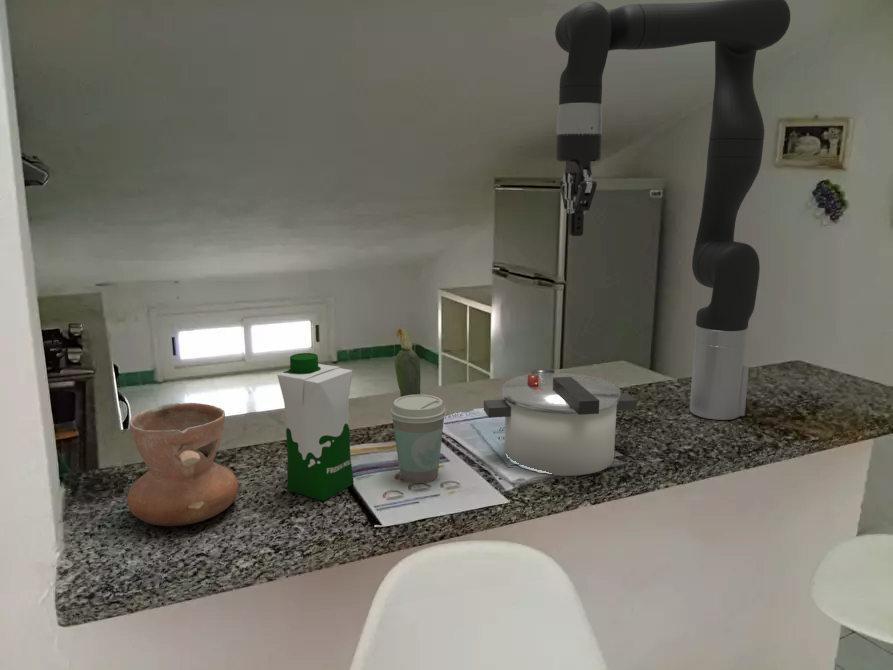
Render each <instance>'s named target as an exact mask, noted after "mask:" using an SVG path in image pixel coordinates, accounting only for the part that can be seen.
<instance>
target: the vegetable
mask: <svg viewBox="0 0 893 670" xmlns="http://www.w3.org/2000/svg"><path fill="white" fill-rule="evenodd" d="M395 336H396V338H398V337H399V343H400V346H401V347H400V348H401V350H399V351H398V353H397V354H396V355H395V358H394V359H395V360H394V369H395V375H396V381H397V385H398V388H399V394H400V397H403V396H407V395H421V366H420V365H421V363H420V357H419V356H418V354H417V353H416V352H415V350H414V349H413V344H412V341H411V338H410V337H409V333H407V331H406V330H404V328H398V329H397V330H396V332H395ZM400 397H399V398H400Z"/></svg>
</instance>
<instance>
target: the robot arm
mask: <svg viewBox="0 0 893 670" xmlns="http://www.w3.org/2000/svg"><path fill="white" fill-rule="evenodd" d="M790 24H791V10H790V6H789V4H788V2H787V1H786V0H715V1H707V2H685V3H684V2H683V3H682V2H681V3H680V2H679V3H677V2H675V3H673V2H672V3H671V2H670V3H667V2H666V3H631V4H626V5H622V6H619V7H616V8H611V9H606V8H605V6H604V5H602V4H600V3H599V2H596V1H585V2H583V3H581V4H578V5H577V6H576V7H574V8H572V9H570V10H568V11H567V12H566V13H564V14H563V15H562V16H561V17H560V18H559V19H558V21H557V24H556V26H555V30H554V33H555V34H554V35H555V40H556V42H557V44H558V46H559V48H561V49H562V50H563V51H565V53H566V52H567V53H568V57H567V64H566V67H565V68H564V69H563V71H562V72H561V74H560V79H559V91H558V93H559V95H558V96H559V97H558V99H559V100H558V104H559V105H558V112H557V119H556V144H555V145H556V150H555V151H556V152H555V159H556V161H557V162H559V163H560V162H563V163H564V162H565V170H564V172H563V176H562V177H563V180H562V179H561V180H560V181H559V188H560V192H561V197H562V203H563V208H564V210H566V212H567V214H568V229H567V230H568V232H567V233H568V235H569V236H572V237H581V236H583V235H584V220H585V219H584V217H585V214H586V211H587V212H589V211H590V208H591V205H592V202H593V199H594V196H595V193H596V189H597V186H598V185H597V181H596V180H593V173H592V164H591V162H599V161H601V159H602V158H601V157H602V156H601V155H602V154H601V153H602V137H603V136H602V134H603V133H602V132H603V131H602V130H603V111H602V101H603V100H602V99H603V95H602V94H603V76H604V75H603V74H604V70H605V67H606V64H607V58H608V55H609V54H608V53H609V51H616V50H627V51H629V50H630V51H631V50H633V51H635V50H637V51H638V50H655V49H656V50H657V49H664V48H665V49H666V48H674V47H679V46H685V45H686V46H687V45H691V44H698V43H708V42H709V43H710V42H714V92H713V101H712V110H711V121H710V122H711V123H710V132H709V137H708V148H707V155H706V156H707V158H706V171H705V180H704V181H705V182H704V190H703V199H702V207H701V214H700V218H699V219H700V220H699V224H698V229H697V234H696V237H695V243H694V248H693V254H692V261H691V263H692V264H691V267H692V268H691V269H692V273H693V276H694V279H695V280H696V281H697V282H698V283H699V284H700V285H702V286H704V287H707V288H711V289H712V294H711V300H710V302H709V304H708V305H707V306H705V307H702V308H700V309H699V310H697V312H696V317H695V319H696V320H695V331H694V346H693V356H692V357H693V359H692V372H691V373H692V374H691V385H690V387H691V388H690V398H689V412H690V413H692V414H693V415H695V416H697V417H700V418H704V419H708V420H709V419H710V420H717V421H718V420H719V421H720V420H721V421H722V420H723V421H728V420H735V419H737V418H739V417H745V415H746V404H747V396H748V395H747V394H748V393H747V392H748V385H749V384H748V382H749V369H750V368H749V367H747V366H746V365H745V363H746V354H747V353H746V351H747V339H748V331H749V330H748V329H749V321H750V319H751V317H752V315H753V313H754V310H755V306H756V300H757V292H758V288H759V287H758V286H759V279H760V278H759V277H760V268H761V266H760V258H759V255H758V253H757V250H755V248H754V247H753V246H751V245H750V244H748V243H745V242H740V241H735V229H736V223H737V216H738V212H739V210H740V208H741V206H742V203H744V202H743V201H744V200H745V198H746V196H748V193H749V191H750V189H751V188H752V186H753V184H754V182H755V181H756V179H757V177H758V175H759V172H760V168H761V166H762V158H763V153H764V152H763V150H764V140H765V125H764V120H763V116H762V112H761V109H760V106H759V103H758V101H757V97H756V94H755V89H754V71H755V64H756V63H755V62H756V56H757V52H758V51H761V50H764V49H767V48H770V47H771V46H773V45H775V44H776V43H778V42H779V41H780V40H781V39H782V38H783V37H784V36H785V35H786V33H787V31H788V29H789V28H790V27H789V26H790Z"/></svg>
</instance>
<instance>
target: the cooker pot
mask: <svg viewBox="0 0 893 670" xmlns="http://www.w3.org/2000/svg"><path fill="white" fill-rule="evenodd" d="M637 405H638V399H636V398H635V397H633V396H632V394H630V393H628V392H620V401H619V403H618V404H616V405H615V406H613V407H611V408H608V409H605V410H602V411H599V414H584V415H579V414H578V413H577V414H561V413H547V412H540V411H534V410H529V409H525V408H522V407H518V406H516V405H513V404H511V403H509V402H508V401H506V400H505V399H504V398H503V399H485V400H483V411H484V413H485V414H486V416H487V417H488V418H492V419H493V418H504V454H505V453H506V454H507V455H508V457H510V458H511V459H512V460H513V461H516V462H517V463H519V464H521V465H524V466H527V467H530V468H534V469H537V470H542V471H546V472H549V473H552V474H554V475H553V476H558V475H559V476H562V477H564V476H565V477H571V476H572V477H573V476H584V475H589V474H594V473H598V472H601V471H602V470H605V469H607V468H609V467H610V466H611V465H612V464H613V462H614V460H615V447H616V446H615V443H616V426H617V425H616V424H617V422H616V421H617V411H634V410H635V411H636V410H637V408H638V406H637Z"/></svg>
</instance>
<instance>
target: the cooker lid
mask: <svg viewBox="0 0 893 670" xmlns="http://www.w3.org/2000/svg"><path fill="white" fill-rule="evenodd" d="M501 391H502V397H503V399H505V400H506V401H508V402H509V403H511V404H513V405H516V406H518V407H522V408H525V409H529V410H534V411H540V412H547V413H561V414H577V413H578V414H579V415H584V414H599V411H602V410H605V409H608V408H611V407H613V406H615V405H616V404H618V403H619V401H620V393H621V389H620V387H619V386H617V385H616V384H615V383H613V382H611V381H609V380H606V379H603V378H600V377H596V376H591V375H586V374H582V373H581V374H579V373H570V372H569V373H567V372H555V369H554V368H546V369H545V368H544V369H530V372H529V373H528V374H523V375H518V376H515V377H512V378H510V379H508V380H506V381H505V382H504V383H503V385H502V389H501Z"/></svg>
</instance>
